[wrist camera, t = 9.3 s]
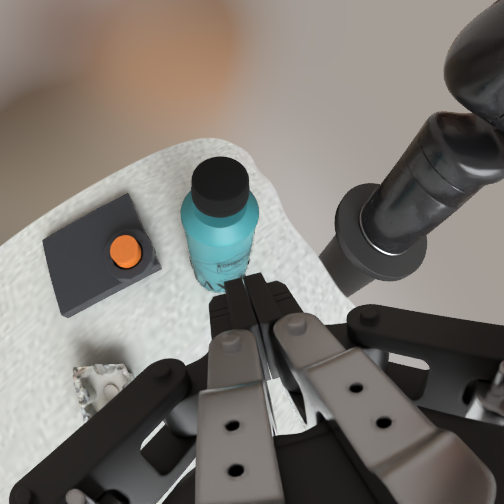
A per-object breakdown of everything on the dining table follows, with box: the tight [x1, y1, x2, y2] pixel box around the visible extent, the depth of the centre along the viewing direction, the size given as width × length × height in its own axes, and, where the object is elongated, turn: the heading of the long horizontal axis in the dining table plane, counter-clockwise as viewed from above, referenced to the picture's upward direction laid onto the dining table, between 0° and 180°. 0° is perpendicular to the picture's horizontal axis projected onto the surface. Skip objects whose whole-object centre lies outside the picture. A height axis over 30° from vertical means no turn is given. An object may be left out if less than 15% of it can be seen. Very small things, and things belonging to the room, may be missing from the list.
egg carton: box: [73, 364, 134, 424], centre depth 28 cm, size 11×8×4 cm
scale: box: [42, 193, 162, 318], centre depth 35 cm, size 15×13×4 cm
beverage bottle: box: [181, 157, 259, 293], centre depth 28 cm, size 6×7×20 cm
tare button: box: [110, 235, 141, 268], centre depth 33 cm, size 4×4×2 cm
